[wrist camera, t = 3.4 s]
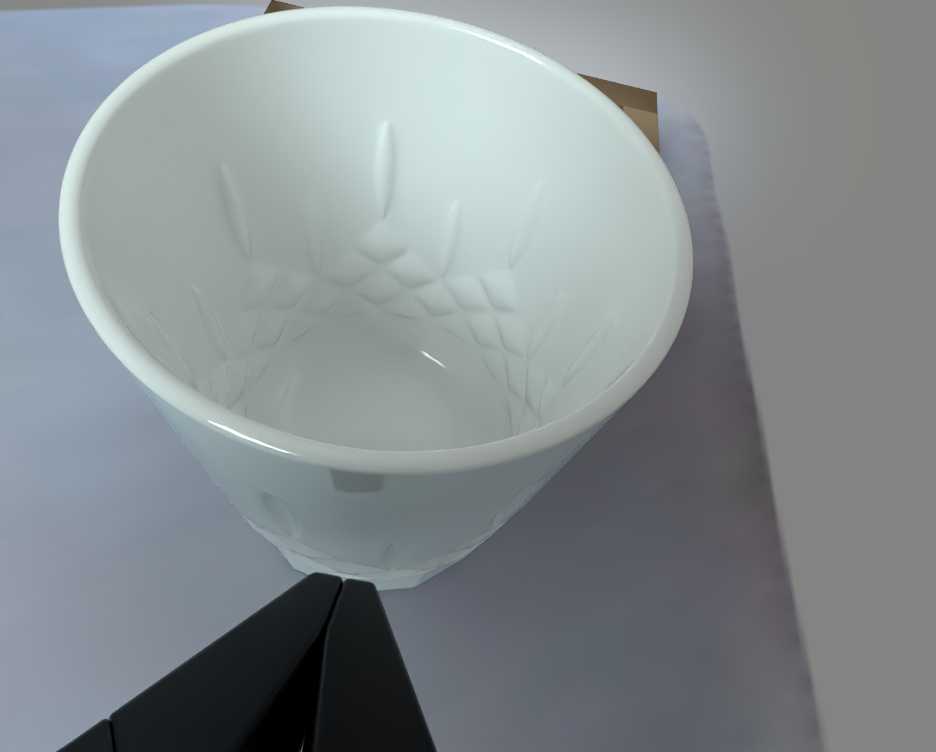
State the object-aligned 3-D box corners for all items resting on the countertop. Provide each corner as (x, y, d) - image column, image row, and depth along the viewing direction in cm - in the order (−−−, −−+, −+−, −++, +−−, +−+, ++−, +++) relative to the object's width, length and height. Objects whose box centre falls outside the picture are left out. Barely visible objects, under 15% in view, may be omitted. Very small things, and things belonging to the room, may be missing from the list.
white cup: (507, 642, 15) (723, 533, 6) (177, 592, 14) (-106, 389, 5) (529, 368, 19) (677, 68, 10) (274, 320, 18) (200, -43, 9)
